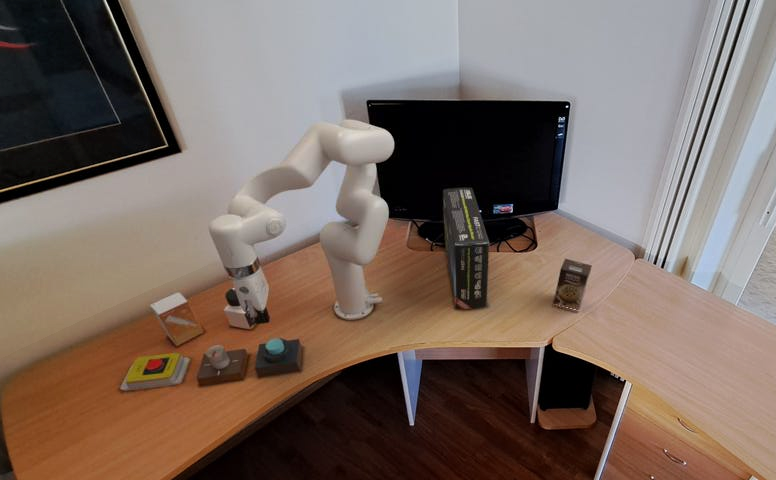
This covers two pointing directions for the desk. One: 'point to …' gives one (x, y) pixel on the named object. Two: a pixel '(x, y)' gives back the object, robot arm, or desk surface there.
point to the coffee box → (572, 285)
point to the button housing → (279, 359)
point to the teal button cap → (275, 346)
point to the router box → (465, 248)
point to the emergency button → (155, 371)
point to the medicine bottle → (237, 312)
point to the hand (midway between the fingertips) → (263, 321)
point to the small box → (177, 318)
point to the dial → (218, 356)
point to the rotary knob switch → (223, 369)
